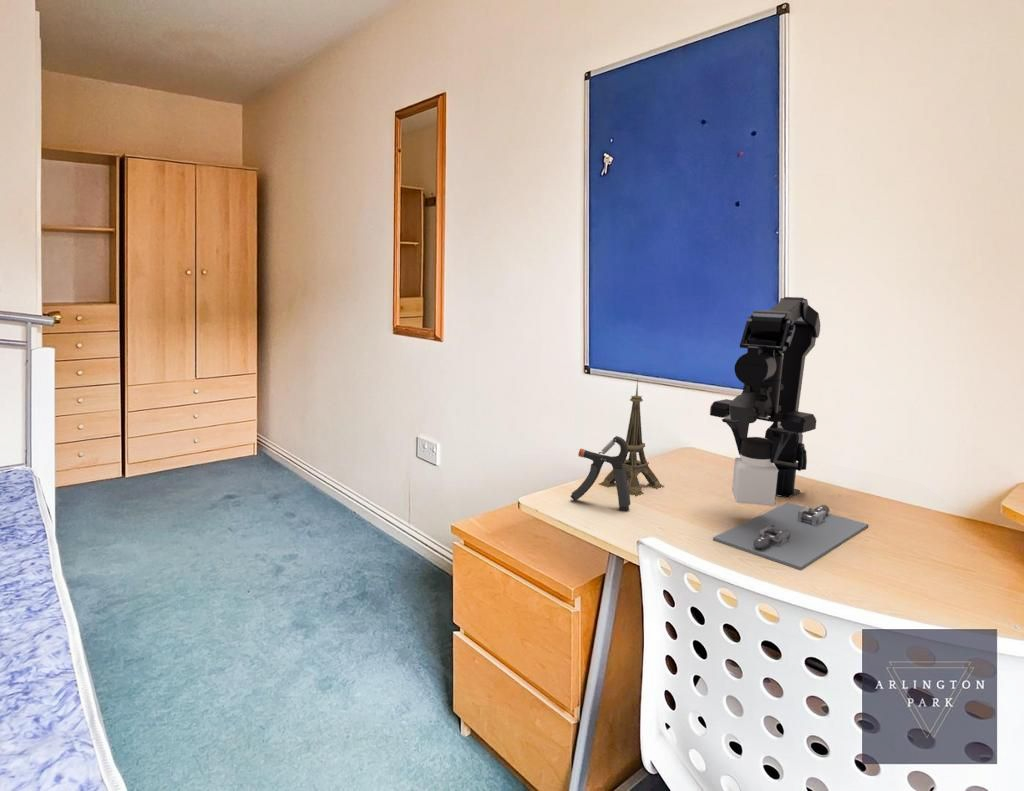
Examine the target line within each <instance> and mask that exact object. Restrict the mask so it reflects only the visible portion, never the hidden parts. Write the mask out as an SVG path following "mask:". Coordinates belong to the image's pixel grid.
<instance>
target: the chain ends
mask: <svg viewBox="0 0 1024 791" xmlns="http://www.w3.org/2000/svg"><path fill="white" fill-rule="evenodd" d="M805 507H806V506H805ZM811 509H813V508H812V507H811V506H807V507H806V508H804V509H802V510H800V511H798V519H797V521H798V522H802V521H804V520H806V521H809V522H812V526H817V525H819V524H821V523H822V522H824V521H825V518H826V514H828V513H829V514H830V508H829V506H828V505H826V504H821V505H819V506H817V507H815V508H814V511H813V510H811ZM790 531H791V530H788V529H786V530H784V531H780V530H777V529H775V525H770V526H768V527H766V528H764V529H762V530H760V535H759V537H758V538H756V539H755V540H754V542H753V545H754V547H755V548H756V549H758V550H762V549H764V548H766V547H767V546H769V545H771V543H772V542H774V543H775V545H774V546H776V547H779V546H781V545H783V544H785V543H786V542H788V541H790Z"/></svg>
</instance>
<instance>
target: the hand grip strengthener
mask: <svg viewBox="0 0 1024 791" xmlns="http://www.w3.org/2000/svg"><path fill="white" fill-rule="evenodd" d="M615 444H617V445H618V446H619V450H620V451H619V453H618V455H614V456H609V455H605V454H607V452H608V451H610V449H612V447H613V446H614V445H615ZM627 453H628V454H629V452H628V447H627V444H626V439H624V438H622V437H620V436H617V435H616V436H615V437H613V438H612V439H611V440H610V441H609V442H608V443H607V444H606V445H605V446H604V447H603V448H602V449H601V451H599V452H598V453H596V452H593V451H589V450H587V449H584V448H580V449H579V450H578V453H577V454H578V457H580V458H583V459H589V460H590V461H592V463H591V464H590V468H589V472H588V475H587V476H586V478H585V479H584V480H583V482H582V483H581V484H580V485H579V487H578V488H577V489H575V490H574V491H572V492H571V495H570V498H571V499H572V501H574V502H576V501H577V500H579V499H580V498H582V497H583V496H585V494H586V493H587V492H588V491H589V490H590V489H591V487H592V486H593V485H594V483H595V482H596V480H597V478H598V477H599V475H600V473H601V470H602V467H603V465H604V463H609V464H610V465H611V466H612V470H613V472H614V476H615V483H616V485H615V486H616V491H617V492H616V493H617V500H618V509H619V511H625V512H626V511H629V509H630V505H631V495H630V494H629V482H628V480H627V476H626V472H625V467H623V466H622V460H623V459H624V458H625V457H626V455H627V456H628V454H627ZM626 458H627V457H626Z"/></svg>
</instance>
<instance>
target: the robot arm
mask: <svg viewBox="0 0 1024 791" xmlns="http://www.w3.org/2000/svg"><path fill="white" fill-rule="evenodd" d="M820 320H821V318H820V314H819V312H818V311H816V310H815V309H814V308H813V307H812V306H811V305H809V302H808V299H807V298H804V297H798V296H795V297H793V296H784V297H780V300H779V302H778V303H777V304H775V305H774V306H773V307H771V308H769V310H768V309H767V310H765V309H764V310H754V311H753V312H752V313H751V314H750V316H748V317H747V319H746V321H745V322H746V323H745V326H744V329H743V334H742V336H741V339H740V340H741V341H740V344H739V348H740V349H747V353H744V354H742V355H740V356H739V357H738V359H737V360H736V362H735V364H734V367H733V368H734V373H735V376H736V378H737V379H738V381H740V382H741V383H743V387H742V392H741V394H738V395H737V396H736V397H735V398H733V399H721V400H715V401H713V402H712V404H711V405H710V406H709V407H710V409H709V416H711V417H716V418H722V419H721V421H722V423H725V424H727V426H729V428H730V429H731V432H732V434H733V437H734V442H735V445H736V448H737V451H738V455H739V456H740V452H741V441H742V440H743V439H744V438H747V437H749V436H748V434H749V428H750V424H753V423H755V422H757V420H760V421H764V422H765V421H766V422H769V423H770V422H771V425H770V426H769V427H768V428H767V429H766V430H765V435H764V438H767V439H769V440H771V441H773V443H772V449H771V463H774V464H775V466H776V468H777V469H778V471H779V472H778V482H777V492H776V496H779V497H783V498H790V497H792V496H795V495H797V494H800V493H801V490H800V489H798V488H795V484H796V476H797V471H799V472H801V471H805V470H807V464H808V462H807V461H808V459H807V450H806V447H805V444H804V443H803V439H804V438H803V437H804V435H803V434H804V433H806V432H811V431H813V430H816V429H817V428H816V426H817V418H816V416H815V414H813V413H808V412H803V411H802V412H801V411H799V408H800V402H801V401H800V400H801V395H802V394H801V393H802V386H803V385H802V384H803V377H804V370H805V363H806V362H805V361H806V357H807V356H808V355H809V353H810V352H811V351H812V349H813V348H814V347H815V345H816V341H817V339H818V338H819V336H820V332H821V321H820Z"/></svg>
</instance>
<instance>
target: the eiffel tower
mask: <svg viewBox="0 0 1024 791" xmlns="http://www.w3.org/2000/svg"><path fill="white" fill-rule="evenodd" d="M636 380H637V381H636V382H637V383H636V388H635V390H636V391H635V395H631V396H630V397H631V398H630V399H629V401H630V402H632V406H631V411H630V416H629V422H628V427H627V433H626V438H625V442H626V444H627V447H628V453H627V455H626V457H625V458H624V459H623V460H622V466H623V467H625V472H626V476H627V481H630V482H629V484H628V487H629V494H630V496H633V495H635V496H634V497H638V495H639V496H641V494H642V495H644V494H645V493H644V492H643V490H642V488H641V484H640V480H639V479H638V476H639V474H640V473H641V474H642V476H644V478H645V479H646V481H647V482H648V483H647V485H646V486H647V487H648V486H649V487H648V488H651V487H652V489H655V488H656V490H659V489H658V488H660V489H662V488H665V485H663V484H661V483H660V479H658V477H657V476H656V473H654V472H653V470H652V469H651V468H650V466H649V464H650V462H648V461H647V458H646V454H645V451H644V448H645V447H646V443H645V442H643V433H642V431H643V430H642V420H641V419H642V418H641V417H642V415H641V402H643V401H644V400H643V398H642V397H643V395H642V396H641V395H638V394H639V393H638V391H639V390H638V389H639V386H638V385H639V383H638V382H639V378H638V377H637V379H636ZM637 453H638V454H637ZM628 454H629V456H628ZM637 455H638V457H639V460H638V457H637ZM598 485H599V486H602V487H605V488H611V487H614V486H616V481H615V476H614V472H613V469H612V470H611V471H610V472H609V473H608V474H607V475H606V476H605V478H604V479H603V480H602V481H601V482H600V483H598ZM661 487H662V488H661Z"/></svg>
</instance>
